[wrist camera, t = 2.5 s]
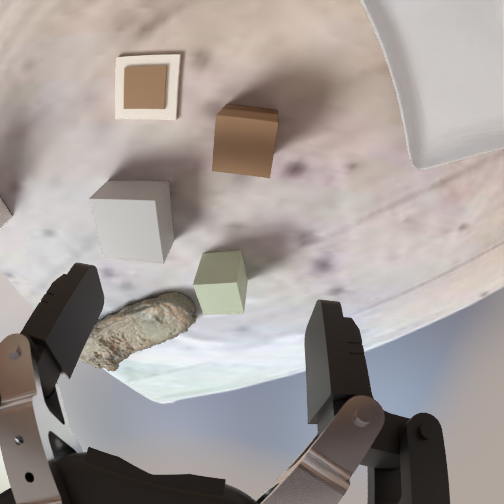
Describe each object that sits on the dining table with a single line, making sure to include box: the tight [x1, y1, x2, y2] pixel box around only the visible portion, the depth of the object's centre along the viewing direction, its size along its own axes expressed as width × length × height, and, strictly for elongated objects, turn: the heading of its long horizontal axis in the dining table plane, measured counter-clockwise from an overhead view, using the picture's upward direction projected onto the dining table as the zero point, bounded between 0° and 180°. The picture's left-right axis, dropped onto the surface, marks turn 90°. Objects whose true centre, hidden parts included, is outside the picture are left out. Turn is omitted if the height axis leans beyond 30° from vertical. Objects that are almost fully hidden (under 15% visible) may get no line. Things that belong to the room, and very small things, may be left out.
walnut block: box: [212, 104, 278, 178], centre depth 27 cm, size 5×5×6 cm
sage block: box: [193, 250, 248, 315], centre depth 37 cm, size 5×5×6 cm
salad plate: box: [360, 0, 504, 170], centre depth 20 cm, size 21×21×3 cm
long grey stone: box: [79, 292, 197, 371], centre depth 49 cm, size 35×5×10 cm
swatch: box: [115, 54, 181, 120], centre depth 26 cm, size 7×7×1 cm
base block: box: [89, 181, 175, 264], centre depth 33 cm, size 8×8×5 cm
